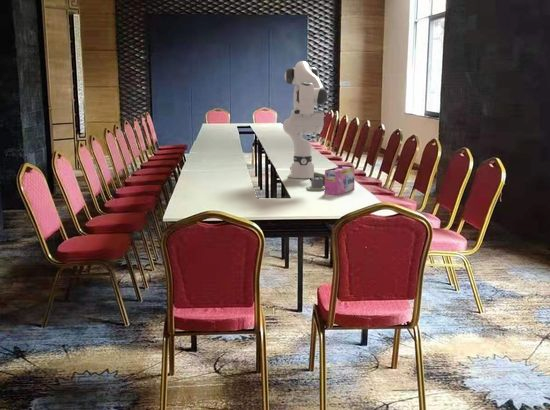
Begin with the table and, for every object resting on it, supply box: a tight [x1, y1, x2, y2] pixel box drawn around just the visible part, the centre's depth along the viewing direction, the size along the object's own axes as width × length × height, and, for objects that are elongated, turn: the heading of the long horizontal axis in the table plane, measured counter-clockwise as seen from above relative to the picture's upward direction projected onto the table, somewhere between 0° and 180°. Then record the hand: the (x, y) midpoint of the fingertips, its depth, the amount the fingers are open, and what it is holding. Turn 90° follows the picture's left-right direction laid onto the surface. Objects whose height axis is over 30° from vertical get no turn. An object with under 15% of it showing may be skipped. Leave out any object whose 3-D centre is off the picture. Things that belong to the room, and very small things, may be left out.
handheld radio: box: [309, 171, 325, 186], centre depth 367 cm, size 7×3×25 cm
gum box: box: [323, 165, 355, 196], centre depth 341 cm, size 24×8×14 cm, turn 146°
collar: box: [310, 177, 323, 188], centre depth 350 cm, size 6×6×5 cm
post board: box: [306, 178, 325, 192], centre depth 348 cm, size 8×16×6 cm, turn 95°
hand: (306, 134), depth 350 cm, fingers open, 8 cm apart
